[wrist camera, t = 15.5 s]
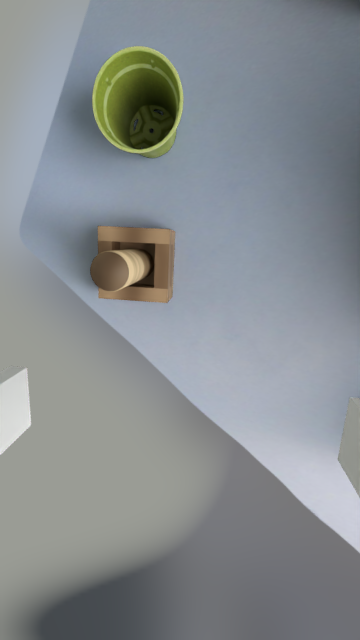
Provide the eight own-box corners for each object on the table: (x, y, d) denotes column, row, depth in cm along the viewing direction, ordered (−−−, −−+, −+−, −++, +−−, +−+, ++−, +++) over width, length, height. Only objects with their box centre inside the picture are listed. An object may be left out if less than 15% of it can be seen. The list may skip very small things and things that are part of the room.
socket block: (175, 231, 42) (170, 229, 37) (172, 296, 44) (167, 302, 39) (111, 228, 42) (97, 225, 38) (111, 292, 45) (98, 298, 40)
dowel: (154, 249, 41) (129, 252, 29) (153, 279, 42) (128, 293, 30) (125, 248, 41) (88, 249, 29) (125, 277, 42) (89, 290, 30)
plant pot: (201, 105, 38) (197, 65, 29) (174, 183, 40) (164, 165, 32) (131, 79, 38) (107, 31, 30) (108, 157, 40) (81, 133, 32)
